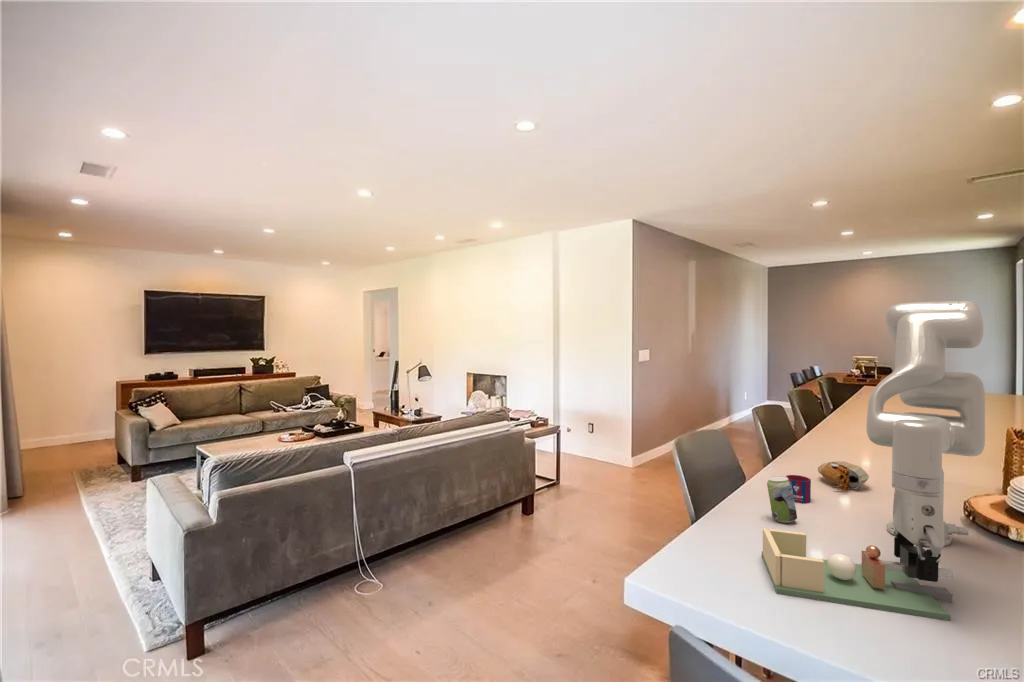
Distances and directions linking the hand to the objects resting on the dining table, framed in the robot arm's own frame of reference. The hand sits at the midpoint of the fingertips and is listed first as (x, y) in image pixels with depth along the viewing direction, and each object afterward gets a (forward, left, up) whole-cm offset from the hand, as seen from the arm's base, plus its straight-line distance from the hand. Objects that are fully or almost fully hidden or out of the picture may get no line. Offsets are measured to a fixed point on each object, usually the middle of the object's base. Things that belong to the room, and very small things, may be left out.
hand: (914, 568), depth 94 cm
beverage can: (+17, -34, -5) cm, 38 cm away
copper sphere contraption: (+1, 0, -4) cm, 4 cm away
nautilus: (-8, -73, -6) cm, 73 cm away
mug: (+8, -56, -6) cm, 56 cm away
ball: (+12, 0, -2) cm, 13 cm away
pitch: (+10, 0, -5) cm, 11 cm away
